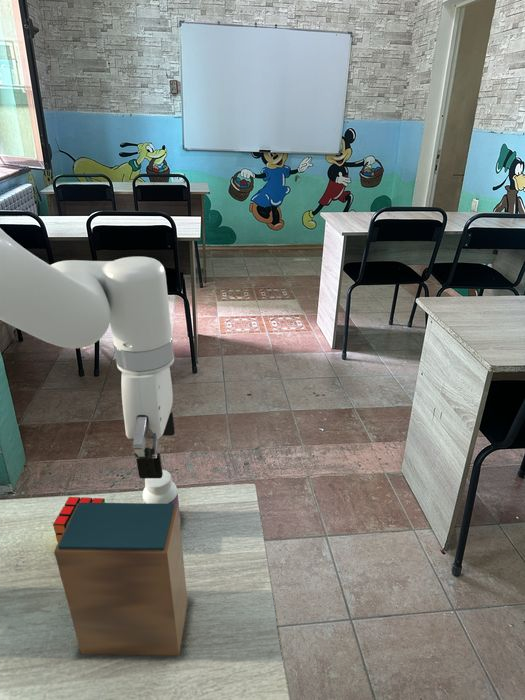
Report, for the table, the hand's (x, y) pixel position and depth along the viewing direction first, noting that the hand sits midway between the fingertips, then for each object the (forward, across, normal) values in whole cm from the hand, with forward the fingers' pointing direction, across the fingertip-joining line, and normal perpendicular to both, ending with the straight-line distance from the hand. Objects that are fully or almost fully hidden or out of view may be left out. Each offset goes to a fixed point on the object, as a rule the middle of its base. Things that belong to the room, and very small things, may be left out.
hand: (158, 454), depth 71 cm
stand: (+14, +18, -1) cm, 23 cm away
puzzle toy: (+14, +3, -12) cm, 19 cm away
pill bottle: (+14, 0, -1) cm, 14 cm away
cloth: (-4, +18, 0) cm, 18 cm away
